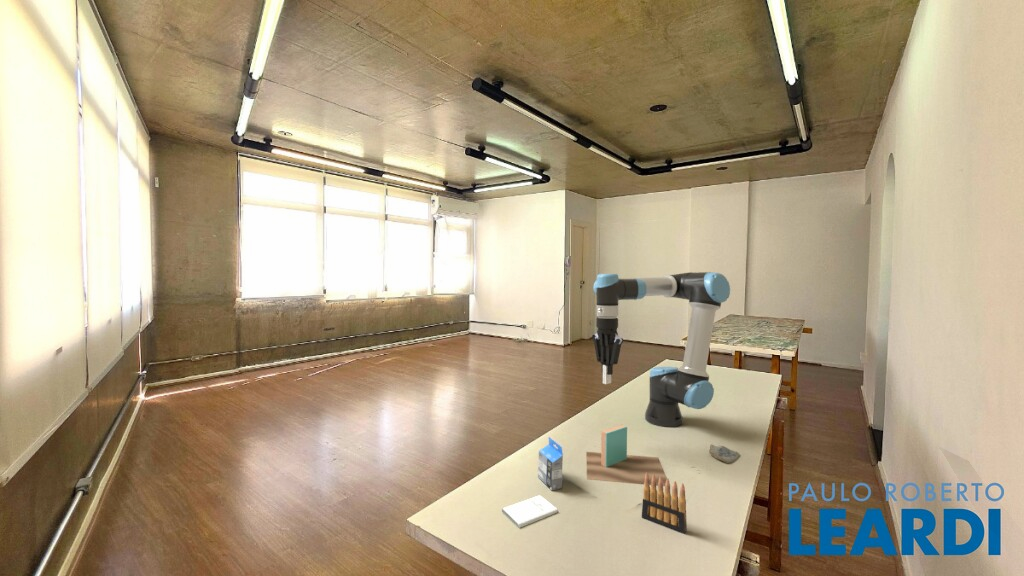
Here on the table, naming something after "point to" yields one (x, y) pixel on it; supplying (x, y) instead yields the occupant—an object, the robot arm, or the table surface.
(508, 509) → the external hard drive
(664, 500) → the ammunition clip
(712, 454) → the ceramic fragment
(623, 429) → the tile
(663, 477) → the board
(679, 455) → the table surface
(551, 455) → the label tape box
